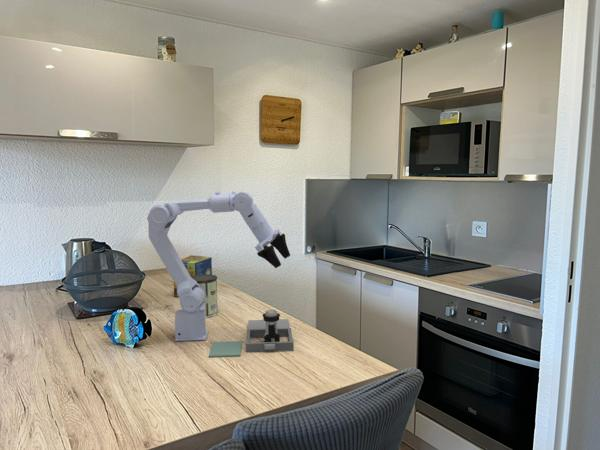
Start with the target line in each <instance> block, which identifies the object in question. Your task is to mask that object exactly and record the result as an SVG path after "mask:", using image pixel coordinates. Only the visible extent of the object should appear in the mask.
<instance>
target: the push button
mask: <svg viewBox="0 0 600 450" xmlns="http://www.w3.org/2000/svg"><path fill="white" fill-rule="evenodd" d="M280 317H281V314H280V313H279V312H278V311H277V310H276V309H275V310H274V309H267V310H265V312H263V313H262V320H264V321H266V333H265V335H264V336H263V337H262V339H259V340H258V342H281V337H280V335H279V334H277V333H278V332H277V321H278V320H279V319H280ZM268 323H269V324H268Z"/></svg>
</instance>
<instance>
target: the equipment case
mask: <svg viewBox="0 0 600 450" xmlns="http://www.w3.org/2000/svg"><path fill="white" fill-rule="evenodd" d="M268 324H269V323H268ZM277 332H278V333H277V334H279V335H280V338H281V337H283V338H284V337H287V339H288V341H280V342H263V341H257V342H251V339H252V338H263V336H264V335H265V333H266V321H264V319H250V320H249V319H248V321H247V330H246V338H245V339H246V340H245V352H246V353H262V352H266V353H267V352H290V351H291V352H293V351H294V337H293V333H292V328H291V326H290V319H289V318H284V319H283V318H281V319H280V318H279V320H278V321H277Z"/></svg>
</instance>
